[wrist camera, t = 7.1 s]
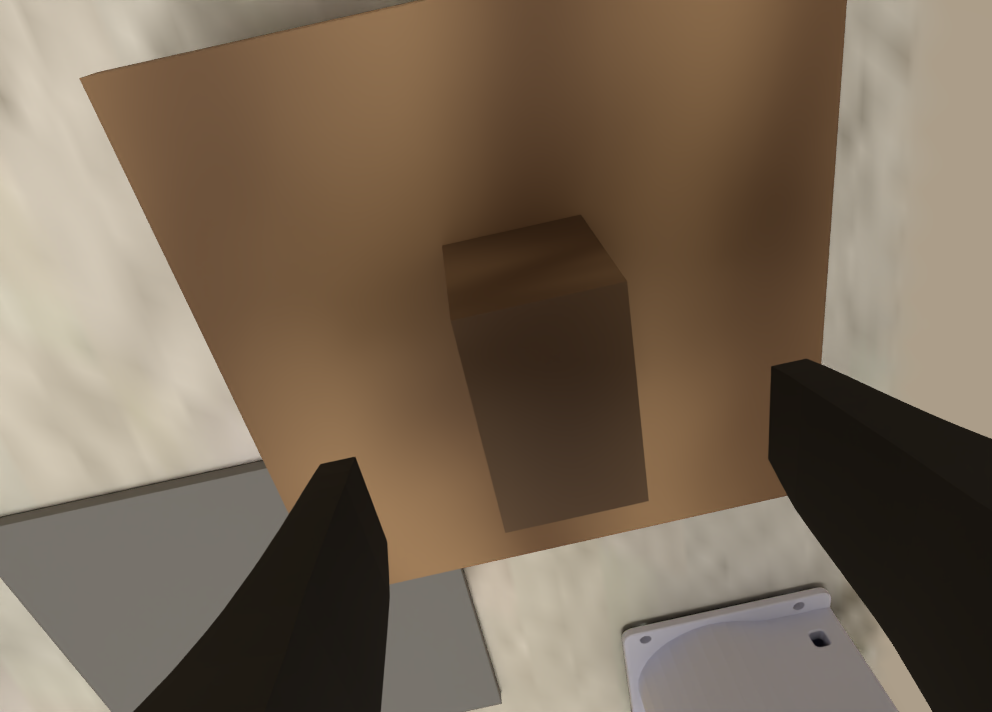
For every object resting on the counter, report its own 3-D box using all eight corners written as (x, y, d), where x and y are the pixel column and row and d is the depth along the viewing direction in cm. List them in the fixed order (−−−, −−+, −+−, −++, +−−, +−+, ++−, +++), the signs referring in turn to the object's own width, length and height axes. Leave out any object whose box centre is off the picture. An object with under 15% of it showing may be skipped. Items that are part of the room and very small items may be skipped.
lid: (829, -93, 13) (1004, -117, 9) (797, 471, 20) (888, 588, 16) (97, 72, 13) (-34, 115, 9) (331, 575, 20) (314, 716, 16)
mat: (419, 426, 24) (419, 435, 23) (500, 693, 32) (502, 703, 31) (-28, 523, 23) (-36, 533, 23) (168, 766, 32) (165, 777, 31)
